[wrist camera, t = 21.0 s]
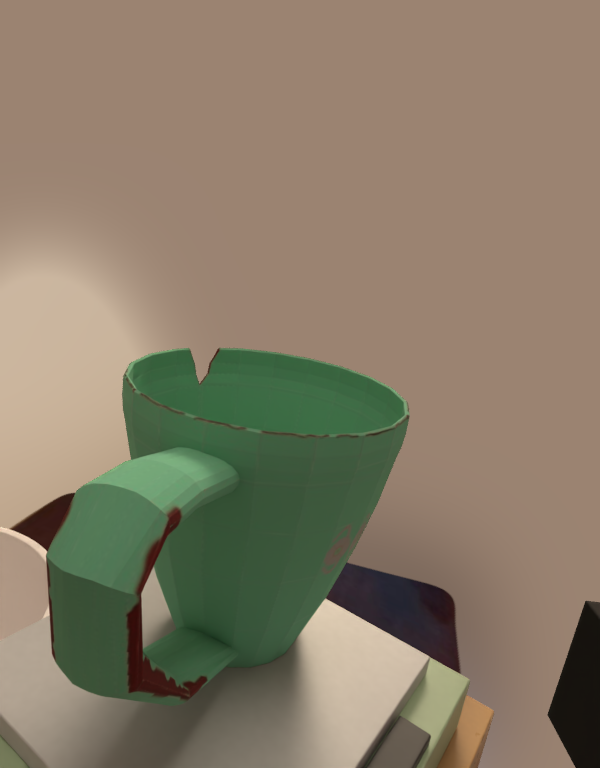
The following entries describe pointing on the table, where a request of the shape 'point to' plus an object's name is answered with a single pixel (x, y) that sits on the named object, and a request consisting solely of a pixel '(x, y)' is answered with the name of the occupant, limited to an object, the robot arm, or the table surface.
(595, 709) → the robot arm
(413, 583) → the table surface
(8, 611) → the planter
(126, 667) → the mug
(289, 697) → the scale
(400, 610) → the table surface
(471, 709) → the riser
